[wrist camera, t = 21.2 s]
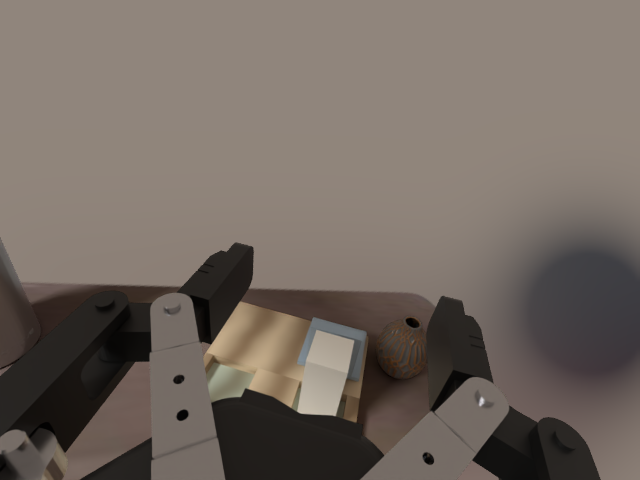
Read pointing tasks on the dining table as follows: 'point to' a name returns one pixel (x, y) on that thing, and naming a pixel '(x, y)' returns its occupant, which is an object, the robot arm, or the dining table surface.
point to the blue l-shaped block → (340, 331)
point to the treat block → (325, 374)
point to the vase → (402, 348)
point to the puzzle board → (267, 359)
